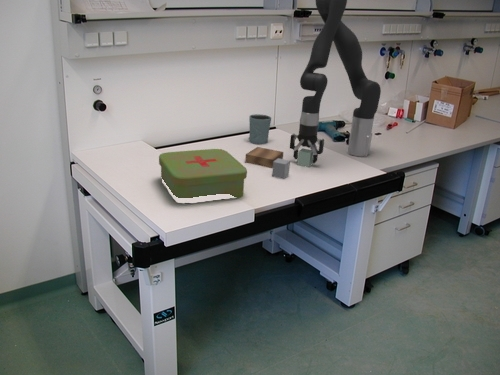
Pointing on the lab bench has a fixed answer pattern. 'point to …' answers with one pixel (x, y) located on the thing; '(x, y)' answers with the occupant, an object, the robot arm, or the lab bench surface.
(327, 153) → the lab bench surface
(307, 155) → the green block
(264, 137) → the grey-green plant pot
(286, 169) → the grey block
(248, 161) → the walnut block
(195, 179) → the first aid kit
